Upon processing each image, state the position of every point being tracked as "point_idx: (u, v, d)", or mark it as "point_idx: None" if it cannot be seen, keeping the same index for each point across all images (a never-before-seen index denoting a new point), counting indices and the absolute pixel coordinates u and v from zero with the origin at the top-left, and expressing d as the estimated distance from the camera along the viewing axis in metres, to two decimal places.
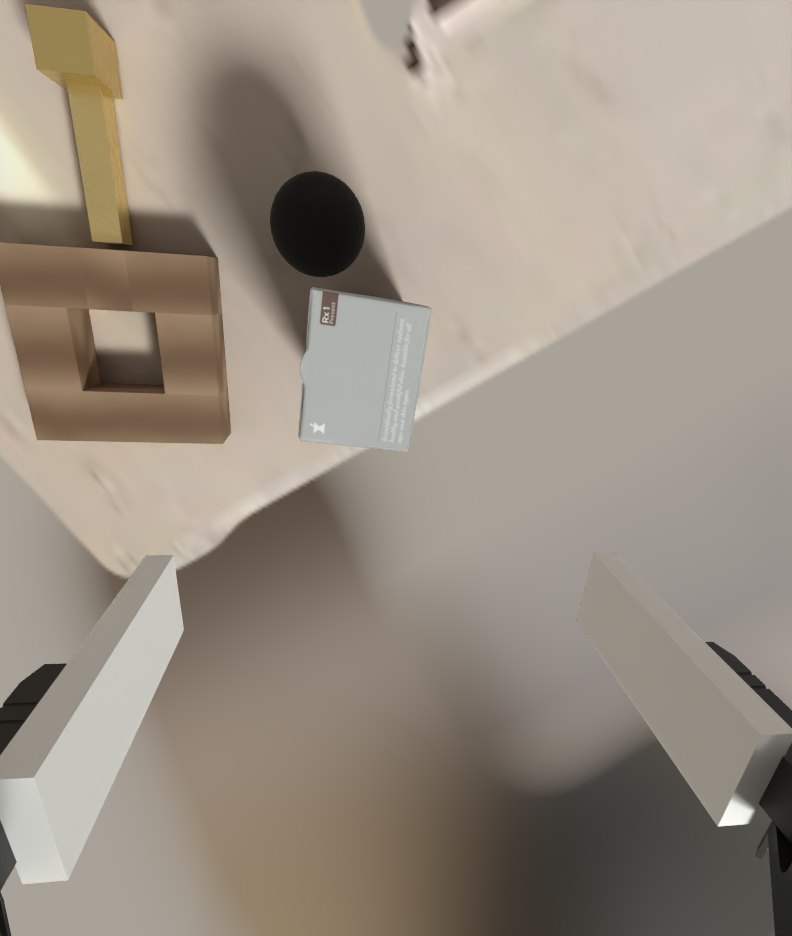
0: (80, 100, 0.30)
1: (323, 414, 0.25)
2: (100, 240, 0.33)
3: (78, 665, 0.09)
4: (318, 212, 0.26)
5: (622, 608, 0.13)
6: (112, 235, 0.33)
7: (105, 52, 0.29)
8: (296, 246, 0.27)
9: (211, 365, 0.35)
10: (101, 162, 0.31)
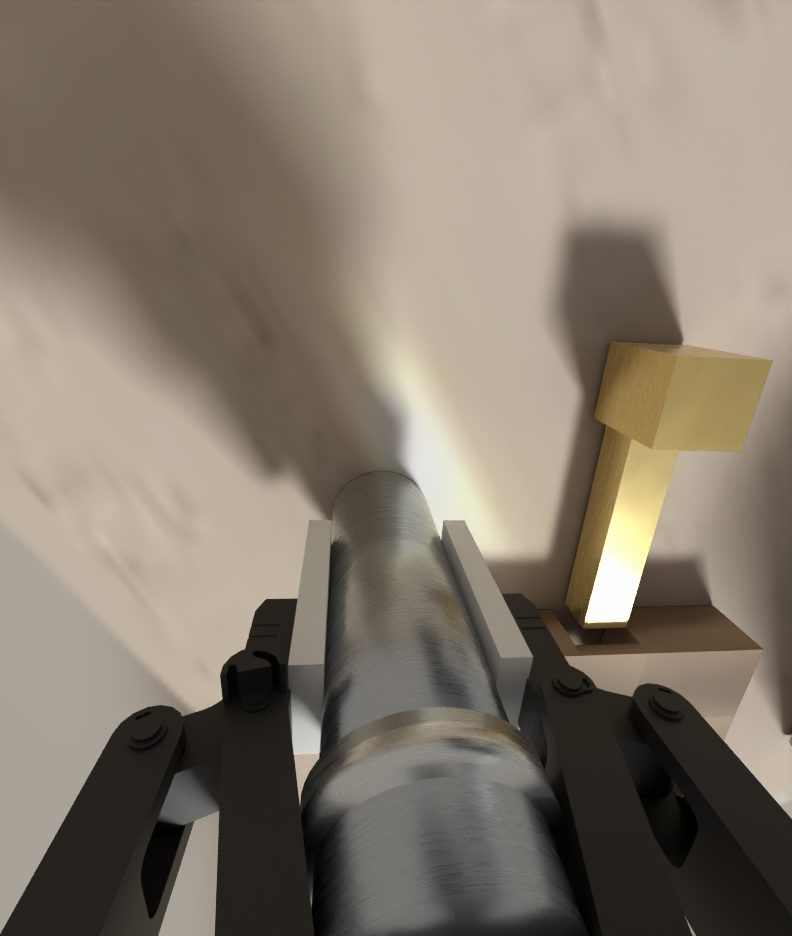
0: (645, 452, 0.17)
1: None
2: (595, 626, 0.20)
3: (307, 595, 0.12)
4: None
5: (453, 567, 0.15)
6: (615, 619, 0.20)
7: None
8: None
9: None
10: (641, 530, 0.19)
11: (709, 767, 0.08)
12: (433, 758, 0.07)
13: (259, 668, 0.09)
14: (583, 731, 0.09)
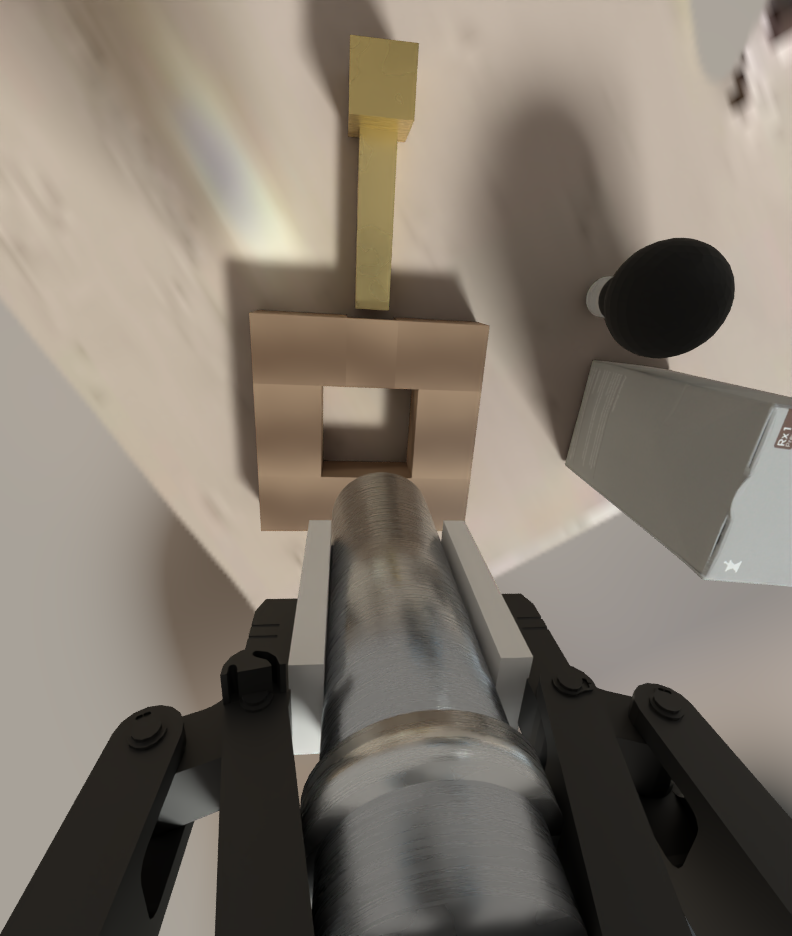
0: (372, 147, 0.25)
1: (744, 550, 0.20)
2: (364, 307, 0.28)
3: (307, 595, 0.12)
4: (709, 292, 0.21)
5: (453, 567, 0.15)
6: (379, 301, 0.28)
7: None
8: (665, 330, 0.22)
9: (469, 446, 0.30)
10: (382, 218, 0.26)
11: (709, 767, 0.08)
12: (433, 761, 0.07)
13: (259, 668, 0.09)
14: (583, 731, 0.09)
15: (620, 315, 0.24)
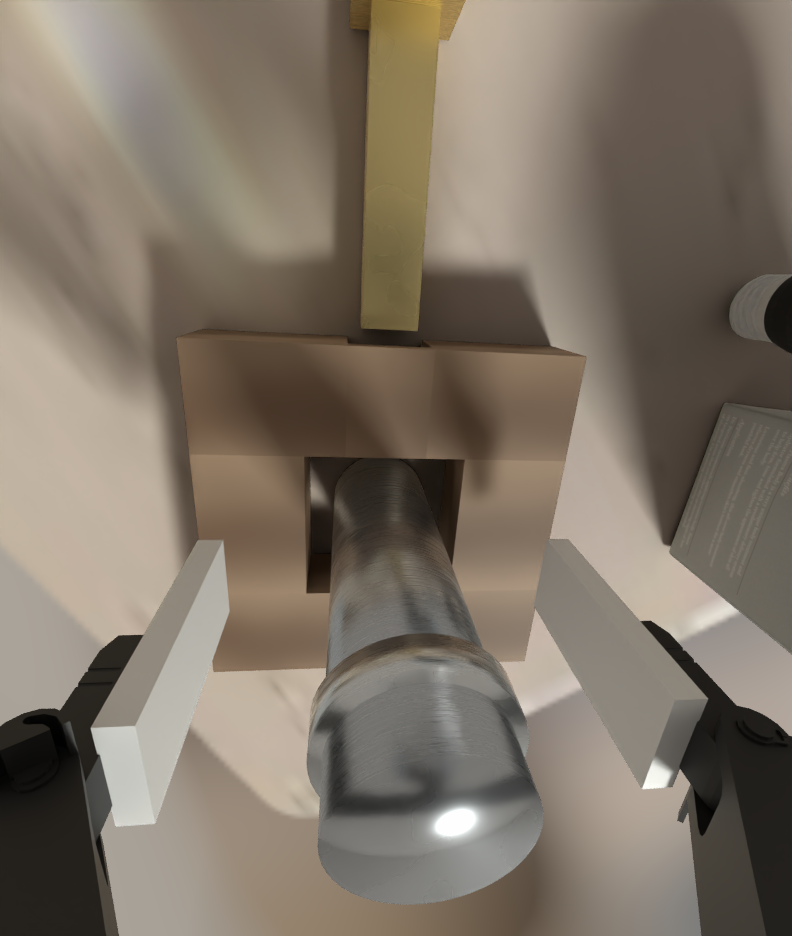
0: (394, 37, 0.13)
1: None
2: (377, 326, 0.16)
3: (155, 634, 0.10)
4: None
5: (570, 590, 0.14)
6: (402, 316, 0.16)
7: None
8: None
9: (540, 543, 0.19)
10: (410, 171, 0.15)
11: None
12: (418, 667, 0.09)
13: (32, 737, 0.07)
14: (771, 781, 0.08)
15: None
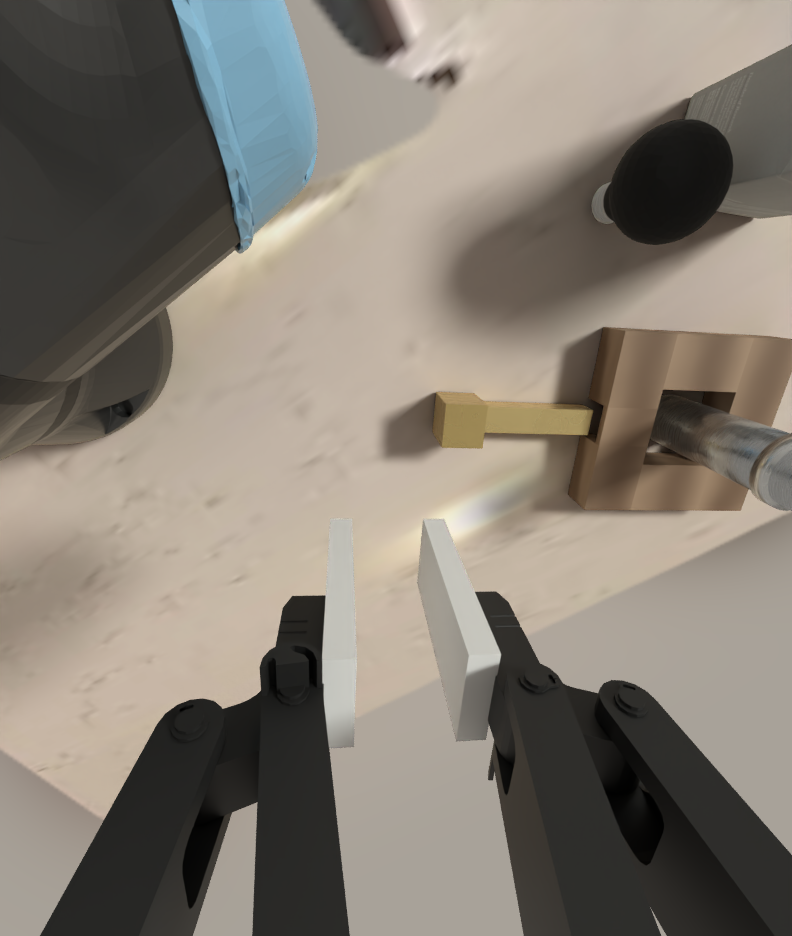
0: (487, 423, 0.35)
1: None
2: (588, 428, 0.36)
3: (335, 592, 0.12)
4: (696, 170, 0.23)
5: (431, 565, 0.15)
6: (585, 417, 0.36)
7: (456, 397, 0.34)
8: (714, 205, 0.24)
9: (723, 341, 0.33)
10: (531, 415, 0.35)
11: (673, 763, 0.08)
12: (763, 476, 0.27)
13: (297, 663, 0.09)
14: (550, 728, 0.09)
15: (676, 239, 0.26)
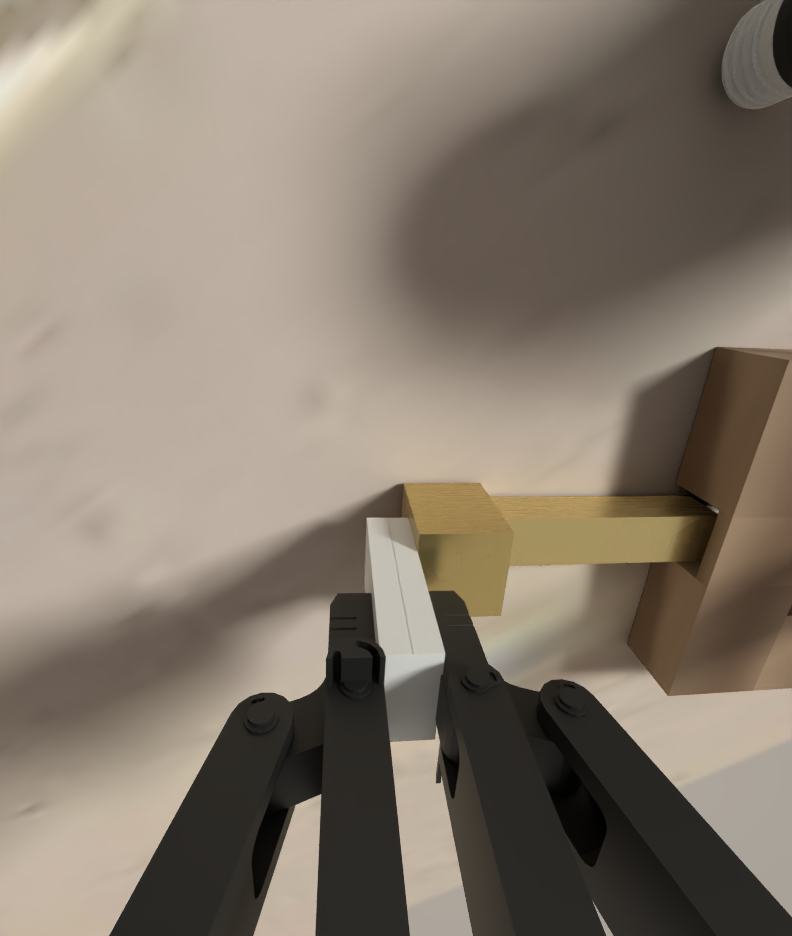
0: None
1: None
2: None
3: (382, 589, 0.12)
4: None
5: None
6: (705, 529, 0.18)
7: (443, 503, 0.16)
8: None
9: None
10: (597, 531, 0.17)
11: (613, 761, 0.08)
12: None
13: (361, 658, 0.09)
14: (492, 727, 0.09)
15: None
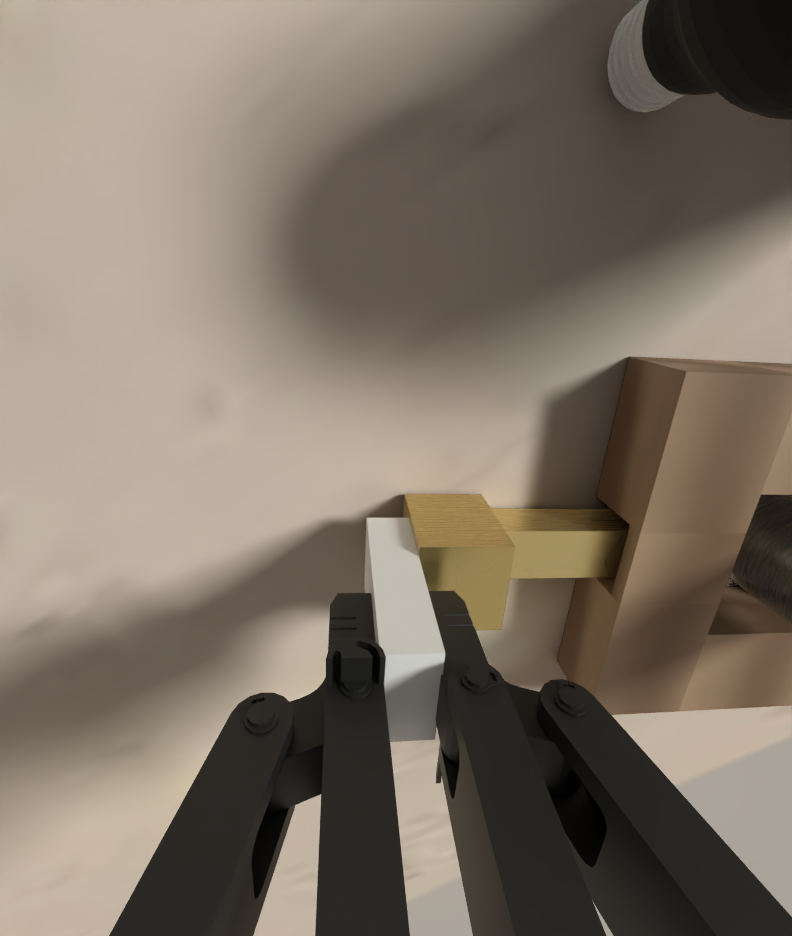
0: None
1: None
2: None
3: (382, 589, 0.12)
4: None
5: None
6: None
7: (444, 515, 0.16)
8: None
9: None
10: (599, 545, 0.17)
11: (613, 761, 0.08)
12: None
13: (361, 658, 0.09)
14: (492, 727, 0.09)
15: None
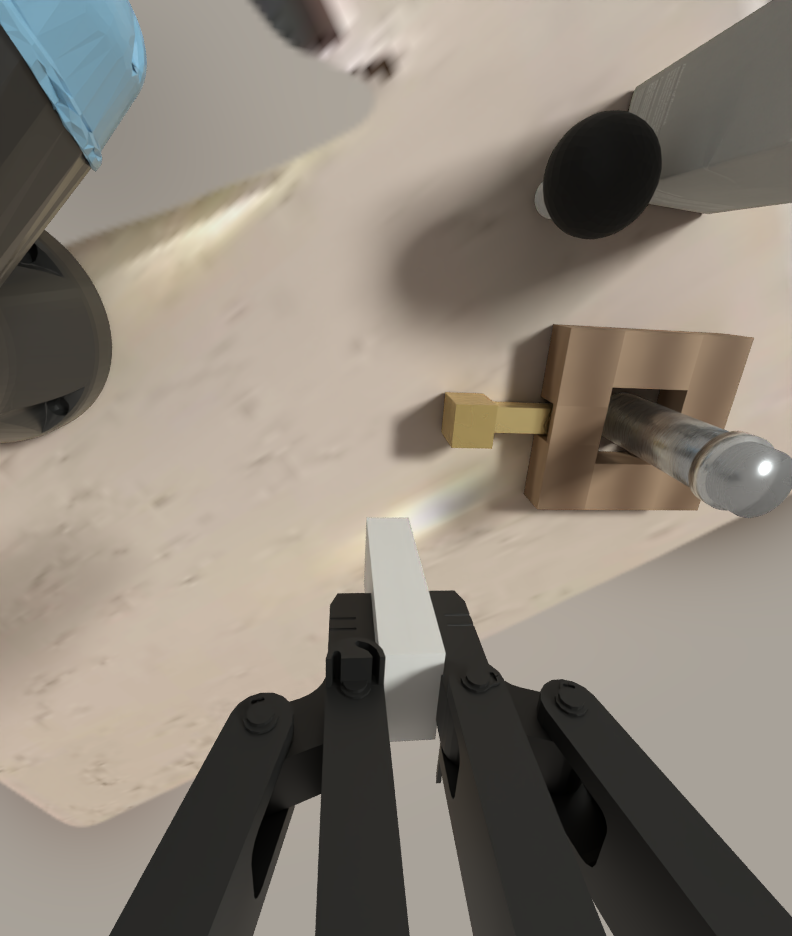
0: (496, 424, 0.35)
1: None
2: None
3: (382, 589, 0.12)
4: (621, 162, 0.22)
5: None
6: None
7: (465, 397, 0.34)
8: (642, 198, 0.23)
9: (672, 338, 0.33)
10: (540, 416, 0.35)
11: (613, 761, 0.08)
12: (700, 476, 0.26)
13: (361, 658, 0.09)
14: (492, 727, 0.09)
15: (609, 234, 0.25)
